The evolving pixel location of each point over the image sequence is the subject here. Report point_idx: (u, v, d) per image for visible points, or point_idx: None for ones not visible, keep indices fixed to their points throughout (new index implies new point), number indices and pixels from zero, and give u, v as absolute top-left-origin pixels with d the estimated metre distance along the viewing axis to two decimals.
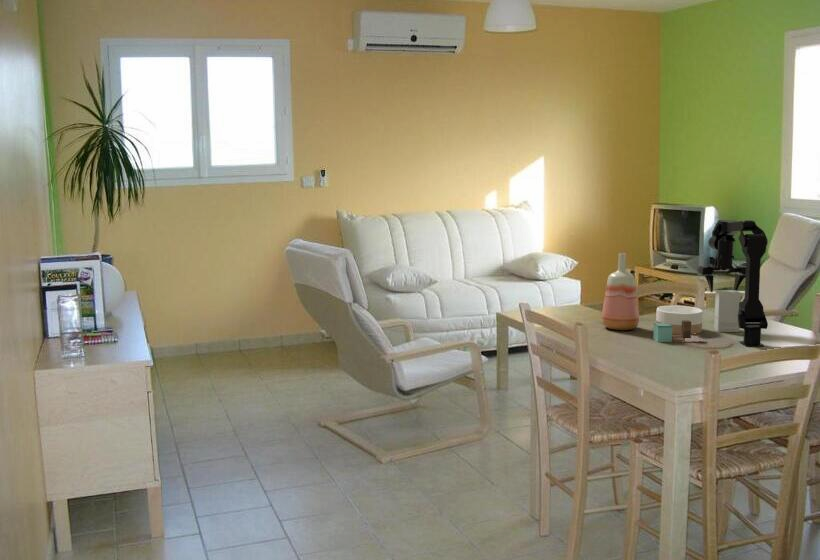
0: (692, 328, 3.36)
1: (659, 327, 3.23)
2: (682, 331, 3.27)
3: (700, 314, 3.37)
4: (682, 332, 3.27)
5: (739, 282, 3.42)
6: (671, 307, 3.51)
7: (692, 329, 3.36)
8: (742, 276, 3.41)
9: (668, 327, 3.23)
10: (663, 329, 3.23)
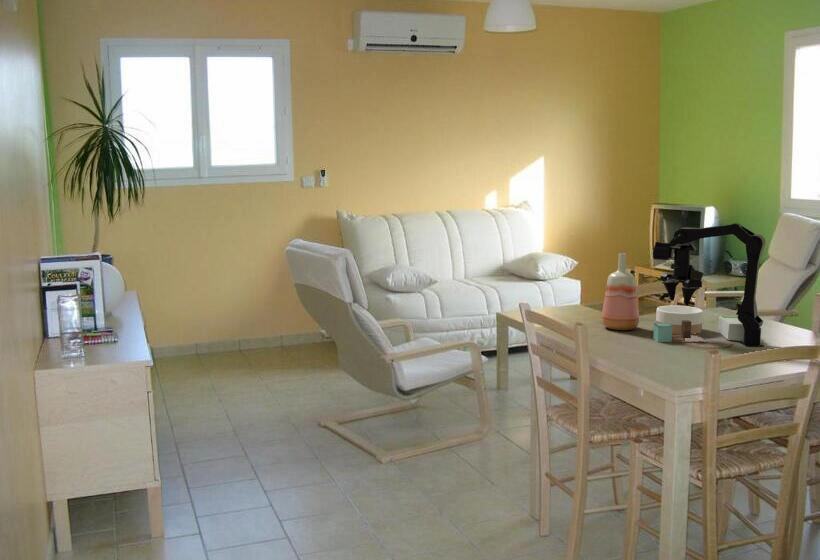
0: (692, 328, 3.36)
1: (659, 327, 3.23)
2: (682, 331, 3.27)
3: (700, 314, 3.37)
4: (682, 332, 3.27)
5: (683, 294, 3.24)
6: (671, 307, 3.51)
7: (692, 329, 3.36)
8: (683, 288, 3.22)
9: (668, 327, 3.23)
10: (663, 329, 3.23)
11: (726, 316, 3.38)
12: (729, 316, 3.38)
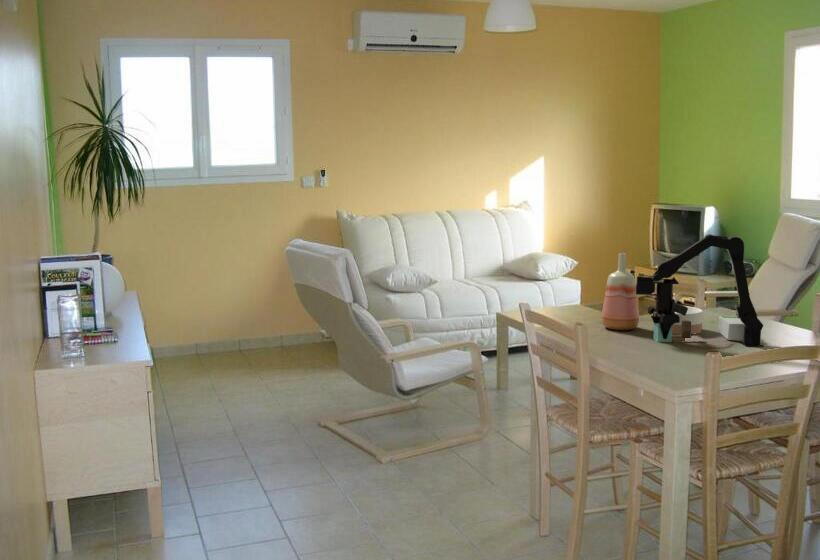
0: (692, 328, 3.36)
1: (659, 327, 3.23)
2: (682, 331, 3.27)
3: (700, 314, 3.37)
4: (682, 332, 3.27)
5: (660, 328, 3.22)
6: None
7: (692, 329, 3.36)
8: (659, 322, 3.21)
9: None
10: None
11: (726, 316, 3.38)
12: (729, 316, 3.38)
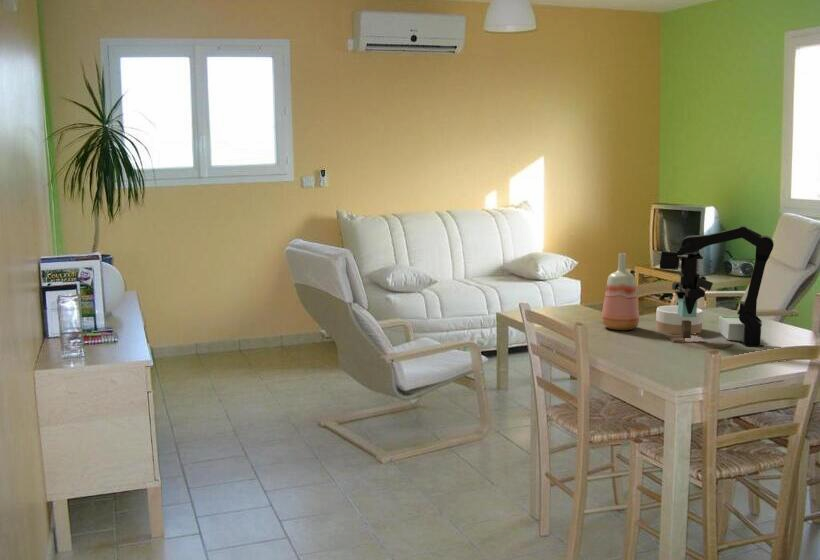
0: (692, 328, 3.36)
1: (684, 302, 3.22)
2: (682, 331, 3.27)
3: (700, 314, 3.37)
4: (682, 332, 3.27)
5: (685, 303, 3.22)
6: (671, 307, 3.51)
7: (692, 329, 3.36)
8: (684, 296, 3.20)
9: None
10: None
11: (726, 316, 3.38)
12: (729, 316, 3.38)
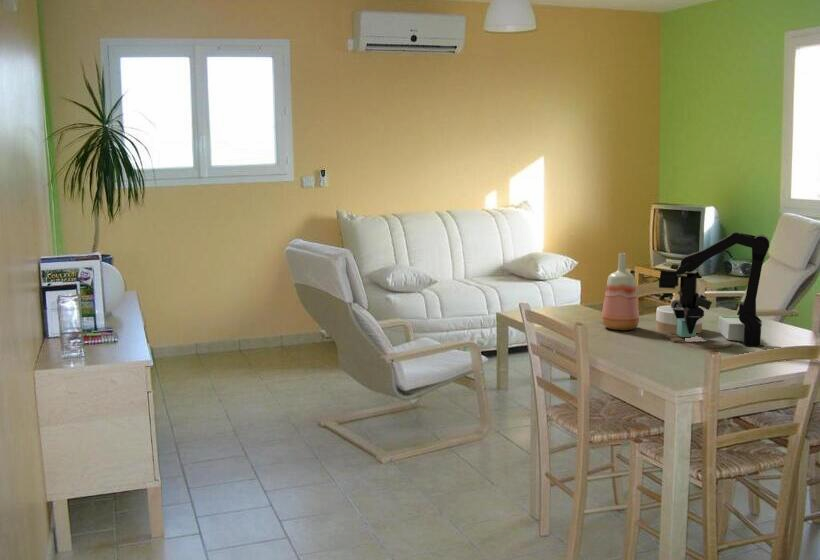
0: None
1: (683, 322, 3.24)
2: None
3: None
4: None
5: (686, 323, 3.21)
6: None
7: None
8: (684, 317, 3.20)
9: None
10: None
11: (726, 316, 3.38)
12: (729, 316, 3.38)
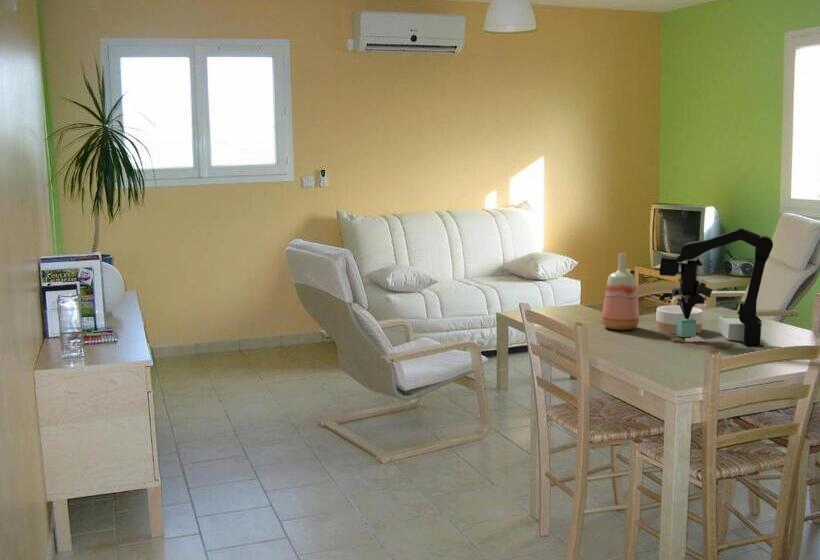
0: None
1: (683, 322, 3.24)
2: None
3: (700, 314, 3.37)
4: None
5: (682, 308, 3.24)
6: (671, 307, 3.51)
7: None
8: (681, 302, 3.23)
9: (692, 322, 3.24)
10: (687, 324, 3.24)
11: (726, 316, 3.38)
12: (729, 316, 3.38)
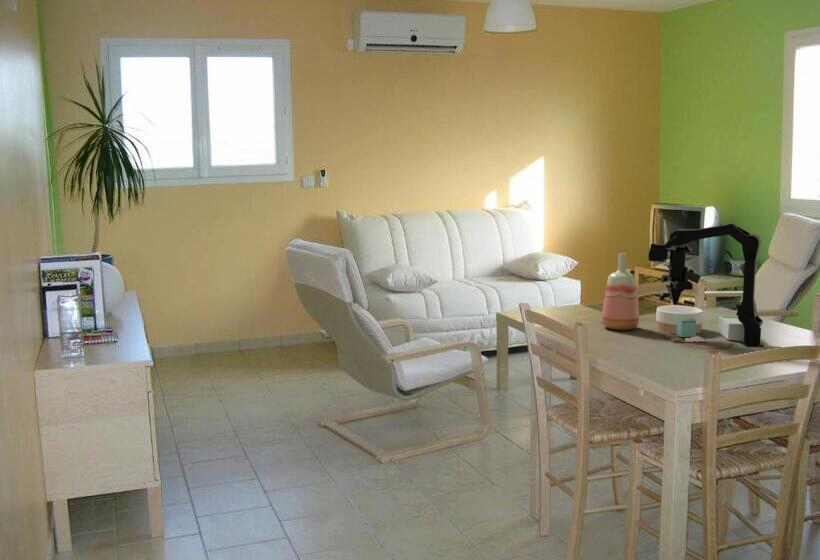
0: None
1: (683, 322, 3.24)
2: None
3: (700, 314, 3.37)
4: None
5: (671, 294, 3.28)
6: (671, 307, 3.51)
7: None
8: (670, 288, 3.27)
9: (692, 322, 3.24)
10: (687, 324, 3.24)
11: (726, 316, 3.38)
12: (729, 316, 3.38)
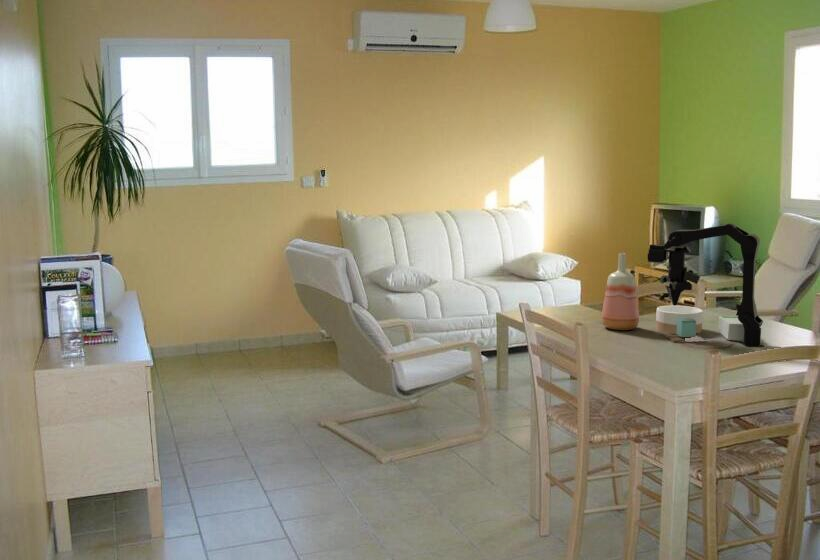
0: None
1: (683, 322, 3.24)
2: None
3: (700, 314, 3.37)
4: None
5: (670, 295, 3.29)
6: (671, 307, 3.51)
7: None
8: (669, 288, 3.28)
9: (692, 322, 3.24)
10: (687, 324, 3.24)
11: (726, 316, 3.38)
12: (729, 316, 3.38)
